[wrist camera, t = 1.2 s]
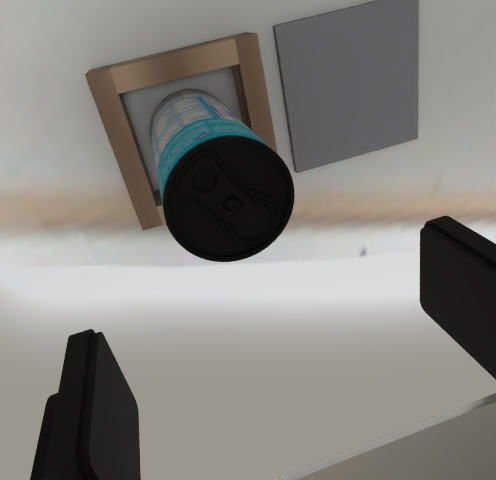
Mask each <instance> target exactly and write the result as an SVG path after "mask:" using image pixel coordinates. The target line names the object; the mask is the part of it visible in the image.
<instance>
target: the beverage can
mask: <svg viewBox="0 0 496 480" xmlns="http://www.w3.org/2000/svg"><path fill="white" fill-rule="evenodd" d="M150 130H151V139H152V146H153V152H154V159H155V165H156V172H157V177H158V183H159V189H160V194H161V200H162V205H163V212H164V217H165V221H166V224H167V226H168V228H169V230H170V232H171V234H172V236H173V237H174V238H175V240H176V241H177V242H178V243H179V244H180V245H181V246H182V247H183V248H185V249H186V250H187V251H189V252H190V253H192V254H194V255H196V256H198V257H200V258H203V259H206V260H210V261H217V262H231V261H237V260H242V259H245V258H248V257H251V256H253V255H255V254H257V253H259V252H261V251H262V250H264V249H265V248H267V247H268V246H269V245H270V244H271V243H272V242H274V241H275V240H276V238H277V237H278V236H279V235H280V234H281V232H282V231H283V230H284V228H285V226H286V225H287V223H288V221H289V218H290V216H291V213H292V209H293V204H294V185H293V180H292V177H291V174H290V172H289V169H288V167H287V166H286V164H285V163H284V161H283V160H282V159H281V158H280V156H279V155H278V154H277V153H276V152H275V151H273V150H272V149H271V148H270V147H269V146H268V145H267V144H266V143H265V142H264V141H263V140H262V139H261V138H260V137H258V136H257V135H256V134H255V133H254V132H253V131H252V130H251V129H250V128H249V127H248V126H246V125H245V124H244V123H243V122H242V121H241V120H240V119H238V118H237V117H236V116H235V115H234V114H233V113H232V112H231V111H229V110H228V109H227V108H226V107H225V106H224V105H223V104H222V103H221V102H220V101H218V100H217V99H216V98H215V97H214V96H212V95H210V94H208V93H206V92H204V91H199V90H182V91H178V92H175V93H173V94H171V95H169V96H168V97H167V98H166V99H164V100H163V101H162V102H161V103H160V105H159V106H158V107H157V108H156V110H155V112H154V115H153V117H152V121H151V126H150Z"/></svg>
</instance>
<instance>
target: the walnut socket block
mask: <svg viewBox="0 0 496 480" xmlns="http://www.w3.org/2000/svg"><path fill="white" fill-rule="evenodd" d="M229 66H231V67H232V72H233V77H234V82H235V87H236V91H237V96H238V101H239V106H240V111H241V116H242V121H243V123H244V124H245V125H246V126H248V127H249V128H250V129H251V130H252V131H253V132H254V133H255V134H256V135H257V136H258V137H260V138H261V139H262V140H263V141H264V142H265V143H266V144H267V145H268V146H269V147H270V148H271V149H272V150H273V151H275V152H276V153H277V149H276V143H275V137H274V131H273V125H272V119H271V113H270V107H269V101H268V95H267V89H266V84H265V78H264V72H263V66H262V60H261V54H260V48H259V42H258V36H257V33H242V34H238V35H234V36H229V37H225V38H221V39H217V40H213V41H209V42H204V43H200V44H196V45H192V46H188V47H184V48H179V49H175V50H171V51H167V52H163V53H159V54H154V55H150V56H146V57H142V58H138V59H134V60H129V61H125V62H121V63H117V64H113V65H109V66H104V67H100V68H96V69H92V70H89V71H88V72H87V73H86V75H85V76H86V78H87V81H88V84H89V87H90V89H91V92H92V95H93V97H94V100H95V103H96V105H97V108H98V111H99V114H100V116H101V119H102V122H103V124H104V127H105V130H106V132H107V135H108V138H109V141H110V143H111V146H112V149H113V151H114V154H115V157H116V159H117V162H118V165H119V168H120V170H121V173H122V176H123V178H124V181H125V184H126V186H127V189H128V192H129V195H130V197H131V200H132V203H133V205H134V208H135V211H136V213H137V216H138V219H139V222H140V224H141V227H142V230H146V229H150V228H153V227H157V226H160V225H164V224H166V221H165V217H164V212H163V205H162V200H161V194H160V191H158V192H154V189H153V186H152V183H151V180H150V177H149V174H148V171H147V168H146V165H145V162H144V159H143V156H142V153H141V150H140V147H139V144H138V141H137V139H136V136H135V133H134V130H133V127H132V124H131V121H130V118H129V115H128V112H127V109H126V106H125V103H124V100H123V97H122V94H121V93H124V92H128V91H132V90H136V89H140V88H144V87H148V86H152V85H156V84H160V83H164V82H169V81H173V80H177V79H181V78H185V77H189V76H193V75H197V74H201V73H205V72H209V71H213V70H217V69H221V68H225V67H229Z"/></svg>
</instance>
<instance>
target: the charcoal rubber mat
mask: <svg viewBox="0 0 496 480" xmlns="http://www.w3.org/2000/svg"><path fill="white" fill-rule="evenodd" d="M418 2H419V0H379V1H375V2H371V3H367V4H363V5H359V6H354V7H350V8H346V9H342V10H338V11H334V12H329V13H325V14H321V15H317V16H313V17H309V18H304V19H300V20H296V21H292V22H288V23H284V24H279V25H275V26H273V29H274V36H275V42H276V49H277V55H278V62H279V69H280V75H281V82H282V89H283V95H284V102H285V109H286V115H287V122H288V129H289V135H290V142H291V148H292V155H293V162H294V168H295V172H296V173H298V172H302V171H305V170H309V169H312V168H316V167H319V166H323V165H326V164H330V163H333V162H337V161H341V160H344V159H348V158H351V157H355V156H358V155H362V154H365V153H369V152H372V151H376V150H379V149H383V148H386V147H390V146H393V145H397V144H400V143H404V142H407V141H411V140H414V139H418Z"/></svg>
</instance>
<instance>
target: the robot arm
mask: <svg viewBox="0 0 496 480" xmlns="http://www.w3.org/2000/svg"><path fill="white" fill-rule="evenodd" d="M420 303H421V306H422V308H423V310H424V311H425V312H426V313H427V314H428V315H429V316H430V317H431V318H432V319H433V320H434V321H435V322H436V323H437V324H438V325H439V326H440V327H441V328H442V329H443V330H445V331H446V332H447V333H448V334H449V335H450V336H451V337H452V338H453V339H454V340H455V341H456V342H457V343H458V344H459V345H460V346H461V347H462V348H463V349H465V350H466V352H468V353H469V354H470V355H471V356H472V357H473V358H474V359H475V360H476V361H477V362H478V363H479V364H480V365H481V366H482V367H483V368H485V370H486V371H488V373H490V374H491V375H492V376H493V377H494V378H495V379H496V244H495V243H493V242H491V241H490V240H488V239H486V238H485V237H483V236H481V235H479V234H478V233H476V232H474V231H473V230H471V229H469V228H468V227H466V226H464V225H463V224H461V223H459V222H457V221H456V220H454V219H452V218H451V217H449V216H442V217H439V218H436V219H433V220H430V221H427V222H426V223H425V225H424V228H422V229H421V231H420ZM30 480H141V479H140V449H139V418H138V407H137V403H136V400H135V398H134V396H133V394H132V392H131V390H130V387H129V385H128V384H127V381H126V380H125V378H124V375H123V373H122V372H121V369H120V367H119V365H118V363H117V361H116V359H115V357H114V355H113V353H112V351H111V349H110V347H109V345H108V343H107V341H106V339H105V337H104V335H103V333H102V332H98V333H95V332H94V331H93V330H92V329H89V330H86V331H83V332H80V333H77V334H74V335H70V336H69V338H68V343H67V348H66V354H65V359H64V364H63V370H62V376H61V380H60V386H59V391H58V393H56V394H53V395H51V396H50V397H49V398H48V400H47V403H46V407H45V412H44V416H43V421H42V426H41V431H40V435H39V440H38V445H37V450H36V454H35V459H34V464H33V469H32V473H31V478H30ZM273 480H496V393H495V394H493V395H490V396H488V397H485V398H482V399H480V400H477V401H474V402H472V403H469V404H467V405H464V406H461V407H459V408H456V409H453V410H451V411H449V412H445V413H443V414H440V415H438V416H435V417H433V418H430V419H427V420H425V421H422V422H419V423H417V424H414V425H412V426H409V427H406V428H404V429H401V430H399V431H396V432H394V433H391V434H388V435H386V436H384V437H381V438H378V439H375V440H373V441H371V442H368V443H365V444H363V445H360V446H358V447H355V448H352V449H350V450H347V451H345V452H342V453H339V454H337V455H334V456H332V457H329V458H326V459H324V460H321V461H319V462H316V463H314V464H311V465H309V466H307V467H304V468H301V469H299V470H296V471H293V472H291V473H288V474H286V475H283V476H281V477H278V478H276V479H273Z"/></svg>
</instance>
